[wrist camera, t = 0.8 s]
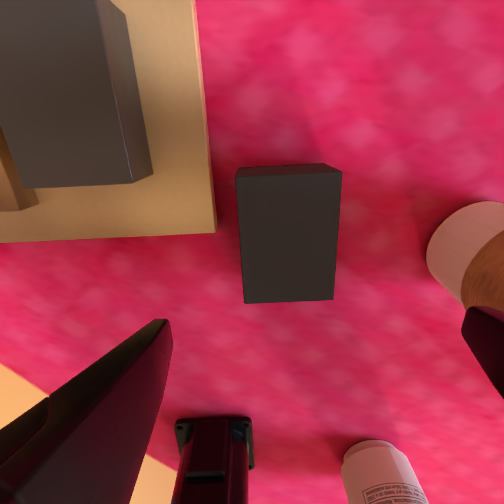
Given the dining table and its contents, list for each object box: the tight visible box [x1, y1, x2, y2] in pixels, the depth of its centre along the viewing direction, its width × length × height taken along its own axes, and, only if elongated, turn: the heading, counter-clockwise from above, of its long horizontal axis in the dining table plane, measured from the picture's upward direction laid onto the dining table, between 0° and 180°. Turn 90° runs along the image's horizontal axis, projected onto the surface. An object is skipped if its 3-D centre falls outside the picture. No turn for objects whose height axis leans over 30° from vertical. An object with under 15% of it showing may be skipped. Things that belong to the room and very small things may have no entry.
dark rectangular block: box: [235, 163, 342, 304], centre depth 16 cm, size 7×5×4 cm
